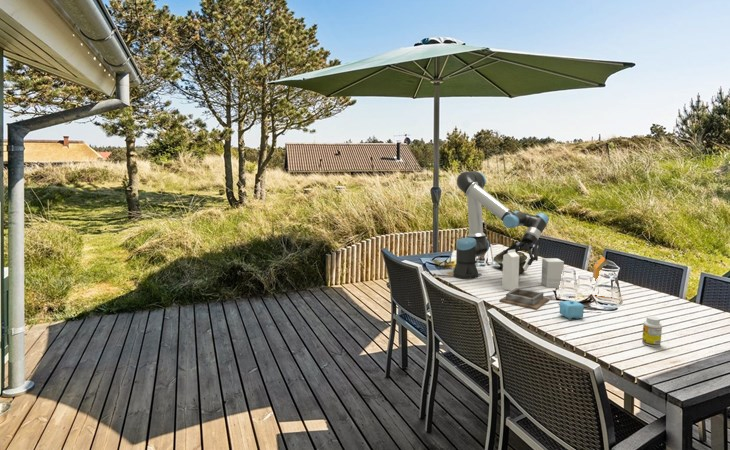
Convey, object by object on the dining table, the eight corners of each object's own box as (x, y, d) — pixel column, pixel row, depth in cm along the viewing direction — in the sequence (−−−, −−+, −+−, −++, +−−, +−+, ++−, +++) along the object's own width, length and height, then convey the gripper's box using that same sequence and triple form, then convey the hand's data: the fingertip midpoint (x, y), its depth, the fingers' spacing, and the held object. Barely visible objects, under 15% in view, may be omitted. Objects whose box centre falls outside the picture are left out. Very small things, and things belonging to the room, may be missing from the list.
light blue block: (560, 320, 172) (561, 303, 171) (552, 315, 178) (553, 299, 177) (586, 319, 173) (587, 302, 172) (577, 314, 179) (578, 298, 178)
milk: (518, 289, 217) (520, 250, 214) (510, 291, 214) (512, 251, 211) (509, 286, 223) (511, 248, 220) (501, 288, 220) (503, 249, 217)
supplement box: (557, 283, 228) (558, 258, 227) (563, 287, 220) (564, 261, 218) (540, 283, 229) (541, 257, 227) (546, 287, 221) (547, 261, 219)
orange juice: (594, 296, 204) (596, 258, 202) (591, 291, 213) (594, 255, 210) (611, 297, 201) (614, 259, 199) (608, 293, 210) (611, 256, 207)
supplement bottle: (642, 339, 151) (645, 314, 150) (660, 343, 148) (663, 317, 146) (641, 344, 147) (643, 318, 146) (659, 348, 143) (662, 321, 142)
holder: (499, 301, 197) (499, 294, 196) (513, 293, 210) (514, 286, 210) (536, 309, 185) (536, 301, 184) (549, 300, 198) (549, 292, 197)
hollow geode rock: (524, 283, 246) (541, 265, 246) (512, 270, 243) (528, 252, 243) (501, 271, 273) (516, 255, 273) (489, 259, 270) (504, 243, 270)
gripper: (554, 244, 214) (536, 275, 208) (515, 238, 235) (497, 266, 229) (549, 235, 210) (531, 267, 204) (509, 230, 231) (491, 258, 225)
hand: (513, 266), depth 216 cm, fingers open, 13 cm apart
